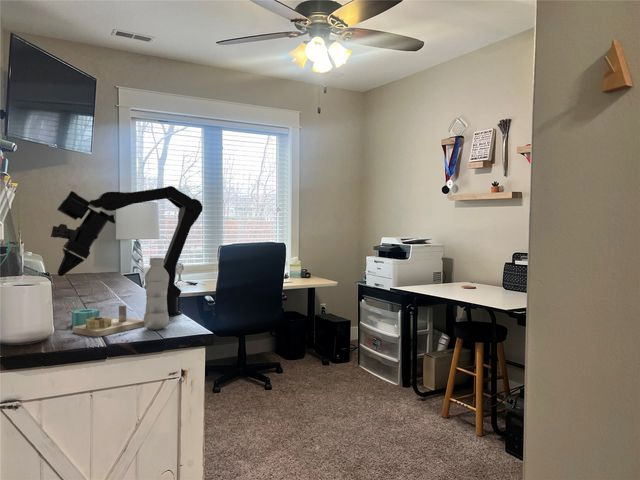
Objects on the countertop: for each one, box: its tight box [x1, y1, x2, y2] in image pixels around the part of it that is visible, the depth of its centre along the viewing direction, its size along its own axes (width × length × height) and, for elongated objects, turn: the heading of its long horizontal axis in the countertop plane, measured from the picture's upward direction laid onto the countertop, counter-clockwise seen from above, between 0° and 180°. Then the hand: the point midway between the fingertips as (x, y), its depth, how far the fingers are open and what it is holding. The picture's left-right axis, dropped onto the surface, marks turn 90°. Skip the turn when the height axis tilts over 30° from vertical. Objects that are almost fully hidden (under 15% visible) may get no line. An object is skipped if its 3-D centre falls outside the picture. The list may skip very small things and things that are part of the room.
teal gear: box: [71, 308, 101, 328], centre depth 133 cm, size 7×7×4 cm
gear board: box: [72, 304, 145, 338], centre depth 127 cm, size 16×10×6 cm, turn 152°
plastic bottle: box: [143, 257, 170, 331], centre depth 128 cm, size 6×7×20 cm
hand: (59, 274), depth 131 cm, fingers open, 9 cm apart
